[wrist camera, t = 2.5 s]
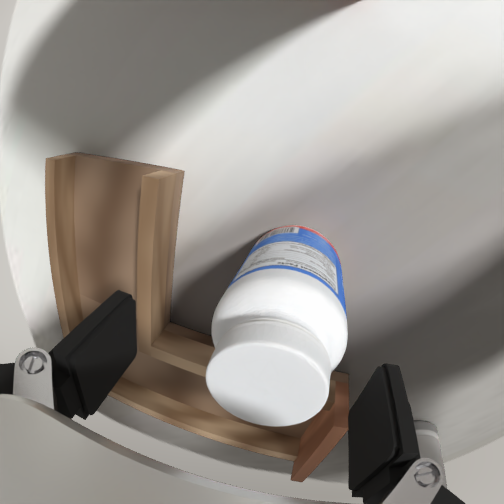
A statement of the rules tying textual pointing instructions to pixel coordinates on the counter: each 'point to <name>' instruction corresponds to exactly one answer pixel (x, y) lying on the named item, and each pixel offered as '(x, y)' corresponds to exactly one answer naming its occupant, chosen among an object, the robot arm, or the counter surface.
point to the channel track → (157, 303)
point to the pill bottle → (279, 329)
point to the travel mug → (429, 443)
